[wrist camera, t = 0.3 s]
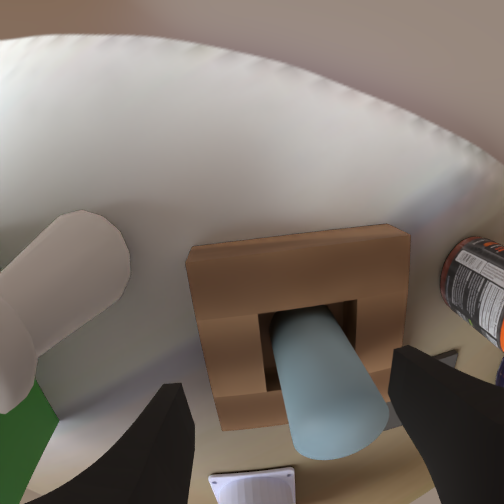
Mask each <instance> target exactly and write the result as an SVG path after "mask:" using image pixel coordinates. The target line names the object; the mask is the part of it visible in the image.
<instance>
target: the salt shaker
mask: <svg viewBox="0 0 504 504" xmlns="http://www.w3.org/2000/svg"><path fill="white" fill-rule="evenodd" d="M130 276H131V269H130V252H129V250H128V248H127V246H126V244H125V241H124V239H123V237H122V234H121V231H119V230H118V229H117V228H116V227H115V226H114V225H112V224H111V223H110V222H109V221H108V220H107V219H105V218H104V217H103V216H101V215H97V214H94V213H91V212H88V211H84V210H78V211H74V212H70V213H67V214H63V215H60V216H59V217H57V218H56V219H55V220H54V221H53V222H52V223H51V224H50V225H49V226H48V227H47V228H46V229H45V230H43V231H42V232H41V233H40V234H39V235H38V236H37V237H36V238H35V239H34V240H33V241H32V242H31V243H30V244H29V245H28V246H27V247H26V248H25V249H24V250H23V251H22V252H21V253H20V254H19V255H18V256H17V257H15V258H14V259H13V260H12V261H11V262H10V263H9V264H8V265H7V266H6V267H5V268H4V269H3V270H2V271H1V272H0V413H1V414H6V413H8V412H9V411H10V410H12V409H13V408H15V407H16V406H17V405H18V404H19V403H20V402H21V401H23V400H24V399H25V398H26V397H27V395H28V394H29V392H30V390H31V388H32V387H33V385H34V380H35V374H36V369H37V363H38V359H37V358H38V357H40V356H41V355H42V354H44V353H45V352H46V351H48V350H49V349H51V348H52V347H53V346H55V345H56V344H58V343H59V342H60V341H62V340H63V339H65V338H66V337H67V336H69V335H70V334H72V333H73V332H74V331H76V330H77V329H79V328H80V327H81V326H83V325H84V324H86V323H87V322H89V321H90V320H91V319H93V318H94V317H96V316H97V315H99V314H100V313H101V312H103V311H104V310H106V309H107V308H108V307H110V306H111V305H112V304H113V303H115V302H116V301H117V300H118V299H120V298H121V296H122V294H123V292H124V290H125V288H126V285H127V283H128V281H129V279H130Z"/></svg>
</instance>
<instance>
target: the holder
mask: <svg viewBox="0 0 504 504" xmlns="http://www.w3.org/2000/svg"><path fill="white" fill-rule="evenodd" d="M410 241H411V235H410V234H408V233H406V232H404V231H402V230H399V229H397V228H395V227H393V226H391V225H389V224H380V225H371V226H362V227H353V228H344V229H335V230H326V231H317V232H309V233H300V234H291V235H283V236H275V237H266V238H258V239H250V240H241V241H233V242H225V243H217V244H209V245H201V246H193V247H192V248H191V250H190V253H189V255H188V257H187V260H186V262H185V265H186V270H187V276H188V281H189V286H190V292H191V297H192V302H193V307H194V312H195V317H196V322H197V327H198V331H199V336H200V341H201V345H202V350H203V354H204V359H205V363H206V368H207V372H208V376H209V381H210V385H211V389H212V393H213V397H214V401H215V405H216V409H217V413H218V417H219V421H220V425H221V428H222V431H231V430H242V429H251V428H260V427H268V426H275V425H282V424H289V422H288V417H287V413H286V408H285V404H284V399H283V394H282V390H281V385H280V381H279V376H278V372H277V367H276V362H275V358H274V353H273V349H272V344H271V339H270V334H269V326H270V322H271V320H272V317H273V316H274V314H275V313H276V312H277V311H283V310H290V309H297V308H304V307H311V306H318V305H324V304H325V305H326V306H327V307H328V308H329V309H330V311H331V313H332V314H333V316H334V317H335V319H336V321H337V322H338V324H339V326H340V327H341V329H342V330H343V332H344V334H345V335H346V337H347V339H348V340H349V342H350V344H351V345H352V347H353V348H354V350H355V352H356V353H357V355H358V357H359V358H360V360H361V362H362V363H363V365H364V367H365V368H366V370H367V372H368V373H369V375H370V377H371V378H372V380H373V382H374V384H375V385H376V387H377V389H378V390H379V392H380V394H381V395H382V397H383V399H384V401H385V402H390V401H391V400H390V398H389V395H388V386H389V380H390V373H391V365H392V358H393V349H396V348H400V347H402V342H403V334H404V326H405V317H406V307H407V296H408V283H409V267H410Z"/></svg>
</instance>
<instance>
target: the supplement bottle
mask: <svg viewBox="0 0 504 504" xmlns="http://www.w3.org/2000/svg"><path fill="white" fill-rule="evenodd" d="M440 289H441V294H442V297H443V299H444V302H445V303H446V304H447V305H448V306H449V307H450V308H451V309H452V310H453V311H454V312H455V313H457V314H458V315H459V316H460V317H462V318H463V319H464V320H465V321H466V322H468V323H469V324H470V325H471V326H472V327H474V328H475V329H476V330H477V331H479V332H480V333H481V334H482V335H483V336H484V337H486V338H487V339H488V340H489V341H491V342H492V343H493V344H494V345H495V346H496V347H498V348H499V349H500V350H501V351H502V352H503V353H504V246H503V245H500V244H498V243H496V242H494V241H491V240H489V239H486V238H482V237H470V238H467V239H465V240H462V241H461V242H460V243H459V244H458V245H457V246H455V248H454V249H453V250H452V251H451V253H450V254H449V256H448V257H447V259H446V261H445V263H444V266H443V270H442V273H441V280H440Z"/></svg>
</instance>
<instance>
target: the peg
mask: <svg viewBox="0 0 504 504" xmlns="http://www.w3.org/2000/svg"><path fill="white" fill-rule="evenodd" d="M269 334H270V339H271V344H272V349H273V353H274V358H275V362H276V367H277V372H278V376H279V381H280V385H281V390H282V394H283V399H284V404H285V408H286V413H287V417H288V422H289V427H290V431H291V436H292V440H293V444H294V447H295V449H296V450H297V451H298V452H299V453H300V454H302V455H303V456H305V457H308V458H311V459H316V460H331V459H338V458H342V457H345V456H348V455H351V454H353V453H356V452H358V451H360V450H362V449H363V448H365V447H366V446H368V445H369V444H370V443H372V442H373V441H374V440H375V439H376V438H377V437H378V436H379V435H380V434H381V433H382V431H383V430H384V428H385V427H386V424H387V422H388V419H389V409H388V406H387V404H386V402H385V401H384V399H383V397H382V395H381V394H380V392H379V390H378V389H377V387H376V385H375V384H374V382H373V380H372V378H371V377H370V375H369V373H368V372H367V370H366V368H365V367H364V365H363V363H362V362H361V360H360V358H359V357H358V355H357V353H356V352H355V350H354V348H353V347H352V345H351V344H350V342H349V340H348V339H347V337H346V335H345V334H344V332H343V330H342V329H341V327H340V326H339V324H338V322H337V321H336V319H335V317H334V316H333V314H332V313H331V311H330V309H329V308H328V307H327V306H326V305H325V304H324V305H318V306H311V307H304V308H297V309H290V310H283V311H277V312H276V313H275V314H274V316H273V317H272V320H271V322H270V326H269Z"/></svg>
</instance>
